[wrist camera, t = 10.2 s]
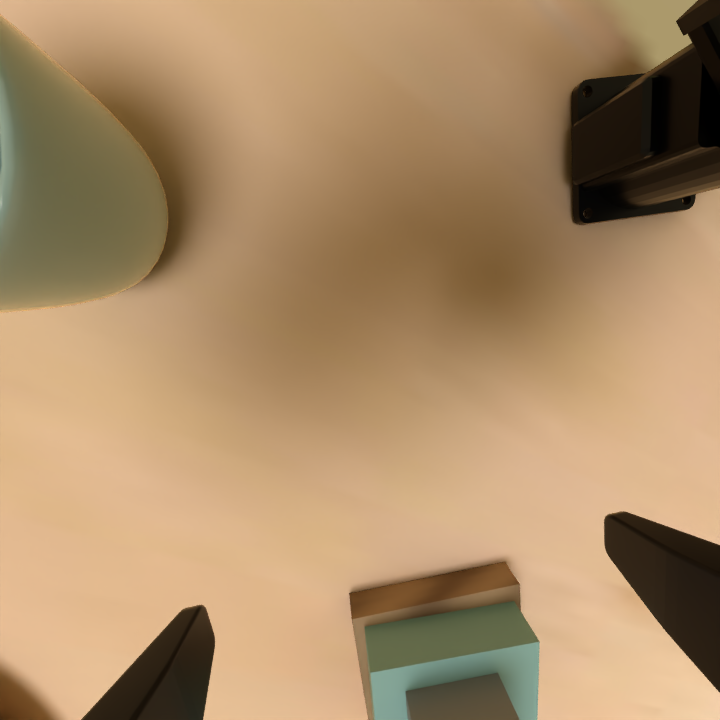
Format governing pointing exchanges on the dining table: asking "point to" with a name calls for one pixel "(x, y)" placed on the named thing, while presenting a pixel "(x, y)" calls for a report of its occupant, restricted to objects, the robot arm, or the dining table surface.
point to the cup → (69, 188)
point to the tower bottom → (428, 603)
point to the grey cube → (462, 700)
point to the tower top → (453, 656)
